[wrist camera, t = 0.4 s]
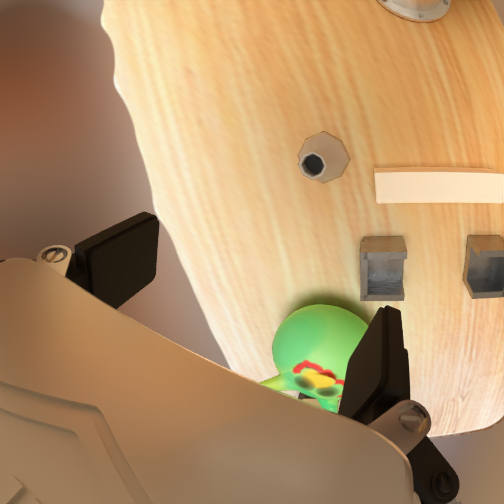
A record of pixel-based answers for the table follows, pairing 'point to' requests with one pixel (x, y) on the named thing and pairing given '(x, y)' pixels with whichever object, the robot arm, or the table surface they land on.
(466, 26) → the table surface
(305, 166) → the flask
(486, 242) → the bracket
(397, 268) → the bracket
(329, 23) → the table surface
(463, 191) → the rail
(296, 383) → the toy bird
